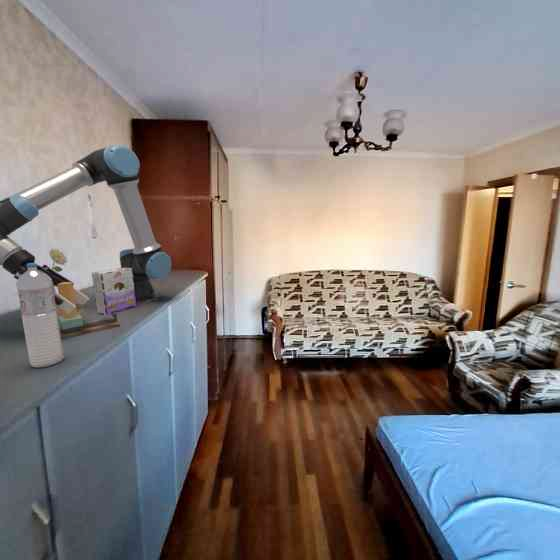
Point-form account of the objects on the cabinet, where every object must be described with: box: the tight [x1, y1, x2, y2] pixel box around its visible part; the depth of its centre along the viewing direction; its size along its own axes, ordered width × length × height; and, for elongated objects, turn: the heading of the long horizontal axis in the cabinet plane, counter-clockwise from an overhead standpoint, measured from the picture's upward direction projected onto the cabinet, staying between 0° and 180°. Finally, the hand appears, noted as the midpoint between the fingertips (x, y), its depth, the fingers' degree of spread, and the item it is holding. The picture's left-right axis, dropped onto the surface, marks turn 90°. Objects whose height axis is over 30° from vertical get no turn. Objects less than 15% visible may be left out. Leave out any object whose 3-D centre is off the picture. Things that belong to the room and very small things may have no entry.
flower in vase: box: [48, 247, 68, 294], centre depth 125 cm, size 13×11×25 cm
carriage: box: [57, 281, 83, 330], centre depth 95 cm, size 5×7×14 cm
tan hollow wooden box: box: [55, 292, 85, 327], centre depth 108 cm, size 8×8×10 cm
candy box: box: [91, 267, 137, 316], centre depth 122 cm, size 14×6×16 cm, turn 154°
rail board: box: [59, 312, 121, 340], centre depth 99 cm, size 18×7×4 cm, turn 132°
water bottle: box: [15, 262, 65, 369], centre depth 74 cm, size 7×7×25 cm
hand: (79, 305), depth 96 cm, fingers open, 9 cm apart
